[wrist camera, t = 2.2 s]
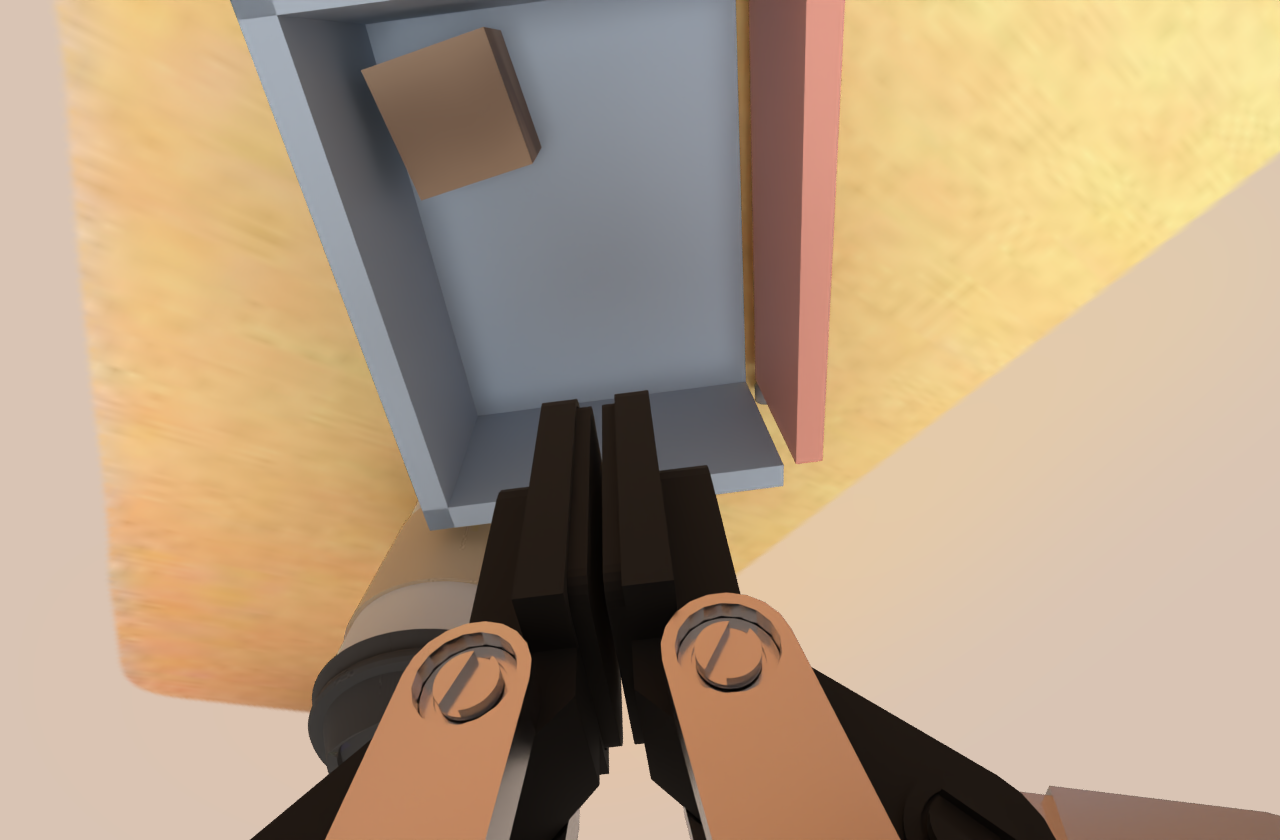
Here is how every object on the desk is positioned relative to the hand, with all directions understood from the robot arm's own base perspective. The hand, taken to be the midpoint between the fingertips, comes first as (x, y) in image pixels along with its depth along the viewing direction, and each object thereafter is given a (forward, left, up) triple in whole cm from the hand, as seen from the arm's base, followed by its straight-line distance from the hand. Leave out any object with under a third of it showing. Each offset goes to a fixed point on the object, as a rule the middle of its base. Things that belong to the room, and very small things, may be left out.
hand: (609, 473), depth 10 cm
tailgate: (0, -7, -18) cm, 19 cm away
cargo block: (+5, +4, -19) cm, 20 cm away
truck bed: (0, +1, -19) cm, 19 cm away
